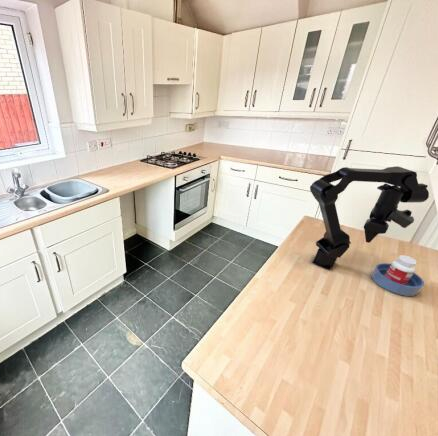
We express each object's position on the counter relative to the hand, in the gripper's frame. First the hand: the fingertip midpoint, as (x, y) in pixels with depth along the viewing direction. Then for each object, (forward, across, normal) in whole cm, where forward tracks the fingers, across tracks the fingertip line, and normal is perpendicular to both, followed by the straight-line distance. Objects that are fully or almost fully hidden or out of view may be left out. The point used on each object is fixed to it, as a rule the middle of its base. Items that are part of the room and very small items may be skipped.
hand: (369, 237), depth 96 cm
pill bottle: (+13, -5, -12) cm, 18 cm away
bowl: (+13, -5, -12) cm, 18 cm away
